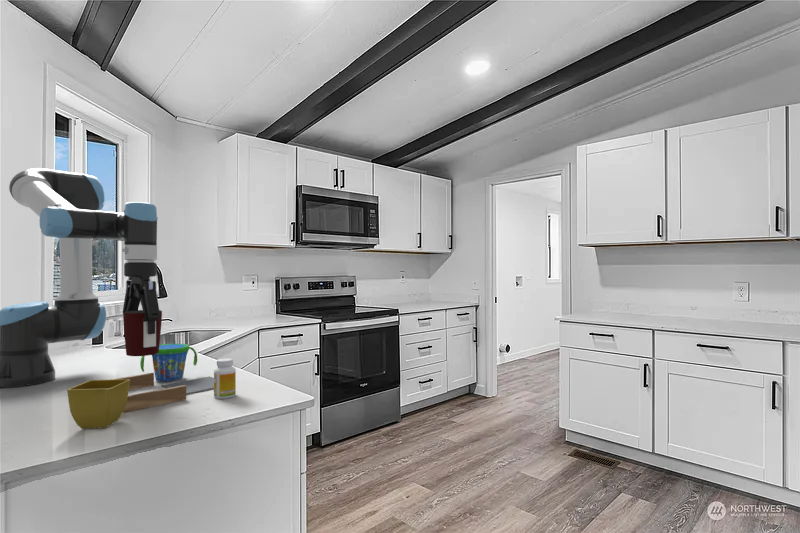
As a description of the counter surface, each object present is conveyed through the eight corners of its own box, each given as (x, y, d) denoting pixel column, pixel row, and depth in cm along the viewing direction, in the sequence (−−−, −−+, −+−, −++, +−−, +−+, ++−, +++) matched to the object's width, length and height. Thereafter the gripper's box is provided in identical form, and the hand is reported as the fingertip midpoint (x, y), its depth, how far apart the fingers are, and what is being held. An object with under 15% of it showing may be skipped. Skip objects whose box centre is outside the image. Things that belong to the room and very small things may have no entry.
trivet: (161, 386, 132) (161, 385, 132) (209, 377, 143) (209, 376, 143) (183, 395, 123) (183, 394, 123) (232, 385, 133) (232, 384, 133)
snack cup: (194, 372, 149) (194, 341, 149) (200, 379, 141) (200, 346, 141) (138, 379, 141) (138, 346, 141) (141, 386, 132) (141, 351, 132)
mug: (113, 352, 122) (114, 310, 122) (149, 347, 129) (149, 308, 129) (130, 358, 114) (130, 314, 114) (167, 353, 121) (167, 311, 121)
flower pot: (90, 419, 104) (90, 379, 104) (131, 418, 105) (131, 378, 105) (65, 433, 95) (65, 389, 95) (110, 431, 96) (110, 388, 96)
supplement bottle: (239, 394, 124) (240, 358, 124) (226, 400, 119) (226, 362, 119) (223, 392, 126) (223, 357, 126) (209, 398, 121) (209, 360, 121)
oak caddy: (80, 397, 121) (80, 384, 121) (152, 384, 134) (152, 372, 134) (108, 415, 106) (108, 400, 106) (186, 399, 119) (186, 385, 119)
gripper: (109, 261, 127) (109, 340, 127) (142, 261, 111) (142, 351, 111) (139, 261, 132) (138, 337, 133) (174, 261, 116) (174, 347, 117)
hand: (140, 343), depth 122 cm, fingers closed on mug, 12 cm apart
